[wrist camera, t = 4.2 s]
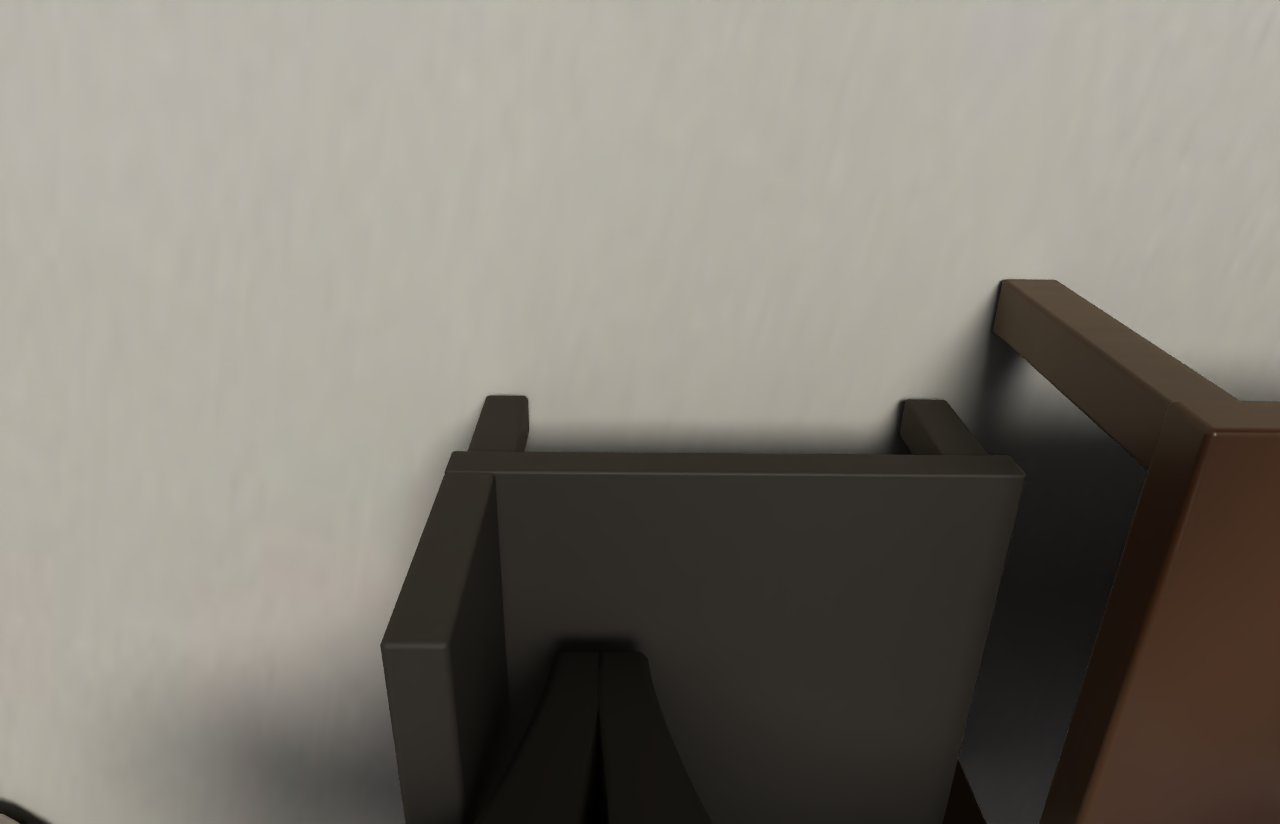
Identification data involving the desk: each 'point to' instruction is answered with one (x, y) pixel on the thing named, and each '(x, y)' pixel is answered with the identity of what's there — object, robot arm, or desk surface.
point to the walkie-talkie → (7, 820)
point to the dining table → (1166, 585)
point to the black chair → (710, 614)
